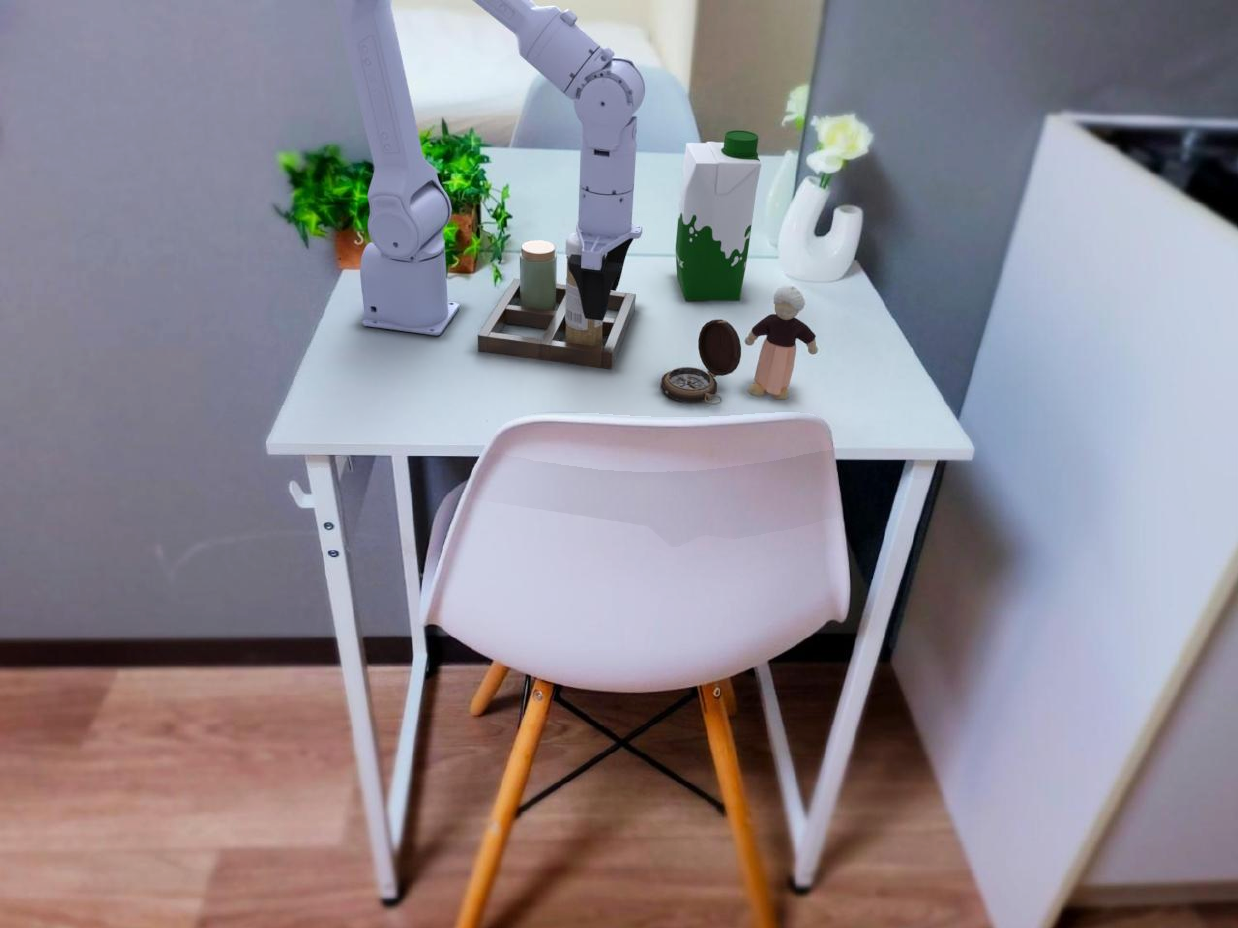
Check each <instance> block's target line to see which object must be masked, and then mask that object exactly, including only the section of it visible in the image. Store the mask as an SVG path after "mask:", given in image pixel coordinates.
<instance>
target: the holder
mask: <svg viewBox="0 0 1238 928" xmlns="http://www.w3.org/2000/svg"><path fill="white" fill-rule="evenodd" d="M636 297H637V294H636V293H630V292H623V291H617V290H616V291H612V290H611V293H610V298H609V303H608V307H607V310H612V311H618V312H617V315H616V318H612V317H606V316H605V317H604V319H603V326H602V338H607V339H606V342H605V343H604V346H602V347H598V346H590V345H583V344H575V343H568V342H565V341H561V338H562V336H563V334H564V333H566V321H565V302H566V284H561V283H557V286H556V304H557V303H558V304H559V305H558V307H557V308H556V311H552V310H545V309H537V308H529V307H522V306H520V305H518V304H519V302H520V278H513V280H512V281H511V283H510V284H509V286H508V288H507V289H506V290H505V292H504V293H503V295H502V297H501V298H500V300H499V301H498V303H497V305H496V306H495V308H494V309H493V311H492V312H491V314H490V316H489V317H488V319H487V320H486V322H485V323H484V325H483V327H481V329H480V331H479V332H478V334H477V351H478V352H484V353H485V352H487V353H492V354H499V355H506V356H514V357H520V358H521V357H522V358H529V359H535V360H545V361H551V362H557V363H564V364H565V363H566V364H573V365H579V366H587V367H594V368H601V369H608V370H609V369H610V370H611V369H613V367H614V364H615V361H616V359H617V355H618V354H619V351H620V348H621V346H622V343H623V340H624V338H625V336H626V333H627V330H628V328H629V325H630V322H631V320H632V317H633V315H634V312H635V309H636ZM506 324H507V325H514V326H521V327H529V328H537V329H543V330H545V332H544V334H543V336H542V338H538V337H530V336H523V335H514V334H508V333H501V331H502V330H503V328H504V326H505V325H506Z"/></svg>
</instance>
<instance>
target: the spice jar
mask: <svg viewBox="0 0 1238 928" xmlns="http://www.w3.org/2000/svg"><path fill="white" fill-rule="evenodd" d="M557 269H558V254H557V252H556V245H555V244H554V243H553V242H551V241H548V240H542V239H534V240H527V241H525V242H524V243H522V244H521V251H520V253H519V279H520V300H519V306H522V307H529V308H537V309H545V310H552V311H557V302H556V286H557V284H558V282H557V277H558V276H557V275H558V270H557Z"/></svg>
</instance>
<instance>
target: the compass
mask: <svg viewBox="0 0 1238 928" xmlns="http://www.w3.org/2000/svg"><path fill="white" fill-rule="evenodd" d="M697 342H698V344H697V345H698V346H697V349H698V353H699V357H700V360H701V363H702V364H703V365H704V367H705V368H706V370H707V371H704V370H703V369H701V368H696V367H691V366H684V367H683V366H682V367H677V368H674V369H672V370H670V371H668V372H666V373H665V374H664V375H663V376H662V377H661V382H660V388H661V390H662V392H663V393H664V394H665V395H666V396H667V397H670V398H671V399H673V400H675V401H679V402H684V403H699V402H701V403H702V402H706V403H708V404H710V405H719V404H721V403H722V401H723V399H722V397H721V396H720V395H717V394H716V393H717V390H718V382H717V380H716V377H723V376H724V377H725V376H728V375H730V374H733V373H734V371H736V370H737V369H738V366H739V364H740V362H741V358H742V346H741V345H742V344H741V340H740V336H739V335H738V332H737V330H736V329H735V328H734V326H733V325H732V324H731V323H730V322H729V321H727V320H724V319H721V318H720V319H712V320H709V321H707V322H706V323H705V324H704V325H703V326H702V328H701V330H700V332H699V335H698V340H697ZM713 397H717V398H718V399H720V400H719V401H718V402H712V401H710V400H712V399H713ZM708 400H709V401H708Z"/></svg>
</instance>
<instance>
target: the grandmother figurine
mask: <svg viewBox="0 0 1238 928" xmlns="http://www.w3.org/2000/svg"><path fill="white" fill-rule="evenodd" d="M805 302H806V300H805V298H804V296H803V294H802V292H801V291H800V290H799V289H797V288H796V287H795V286H794V285H783V286H780V287H779V288H778V289H777V290H776V291H775V293H774V294H773V304H774V313H772V314H768V315H766V316H764V318H763V319H760V321H759V322H757V323H756V324H755V325H754V326H753V327H751V330H750V332H749V333H748V336H747V337H745V339H744V343H745V345H746V346H747V347H750V346H753V345H754V343H755V341H757V340H758V339H759V337H762V336H766V337H765V339H764V341H763V343H762V346H761V349H760V353H759V357H758V361H757V365H756V369H755V373H754V379H753V381H754V382H753V383H752V384H750V385H749V386H748V388H747V392H748V393H749V394H750V395H753V396H757V397H758V396H759V397H761V396H764V395H765V394H766V393H767V394H770V396H771V397H772V398H773V399H777V400H787V399H788V398H789V397H790V394H789V390H788V388H789V387H790V384H791V379H792V376H793V372H794V367H795V360H796V356H797V343H796V340H799V341H800V342H802V343H804V344H805V345H806V347H807V351H808V353H809V354H810V355H817V354H818V352H819V348H818V346H817V341H816V337H817V335H816V334H815V332H813V330H812V329H811V328H810V327H809V326H808V325H807V324H806V323H804V322H803V321H802V320H800V319H798V318H797V315H798V314H799V312H801V311H802V310H803V309H804V308H805V305H806V303H805Z"/></svg>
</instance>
